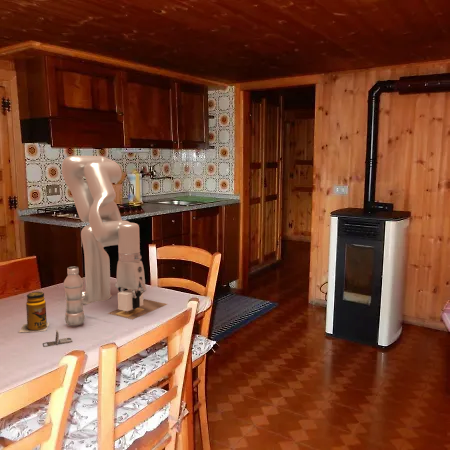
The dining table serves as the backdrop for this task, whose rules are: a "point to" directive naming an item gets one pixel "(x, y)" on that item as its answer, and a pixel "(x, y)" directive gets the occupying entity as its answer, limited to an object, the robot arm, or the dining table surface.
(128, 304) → the block
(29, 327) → the condiment
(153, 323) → the dining table surface
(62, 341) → the strap clip
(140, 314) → the board
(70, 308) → the plastic bottle
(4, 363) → the dining table surface
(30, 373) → the dining table surface
